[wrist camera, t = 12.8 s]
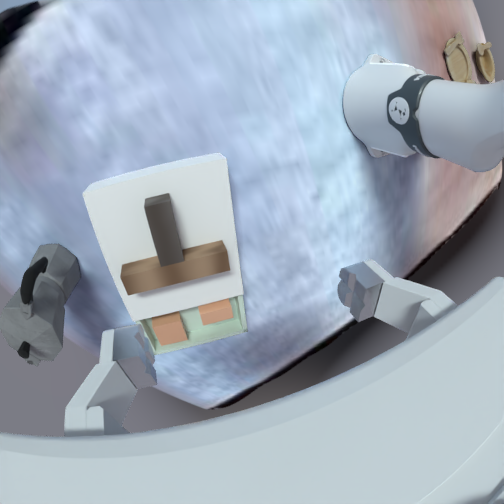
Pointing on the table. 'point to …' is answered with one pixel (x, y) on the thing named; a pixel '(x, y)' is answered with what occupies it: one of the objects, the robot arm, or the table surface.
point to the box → (200, 328)
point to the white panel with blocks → (187, 222)
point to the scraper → (171, 254)
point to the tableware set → (468, 60)
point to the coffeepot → (41, 305)
